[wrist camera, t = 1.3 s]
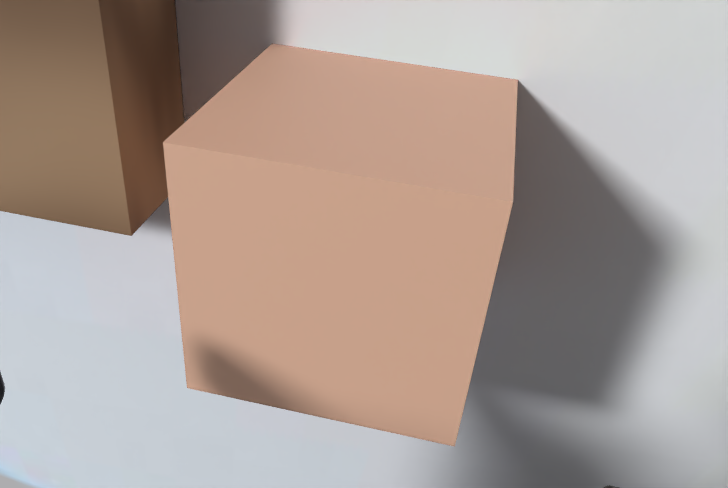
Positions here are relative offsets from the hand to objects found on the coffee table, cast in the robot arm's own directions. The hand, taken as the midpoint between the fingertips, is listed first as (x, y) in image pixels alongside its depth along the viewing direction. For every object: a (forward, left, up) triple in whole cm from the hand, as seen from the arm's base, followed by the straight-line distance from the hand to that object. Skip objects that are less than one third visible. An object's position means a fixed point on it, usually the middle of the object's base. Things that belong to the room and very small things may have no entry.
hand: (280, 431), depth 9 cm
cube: (0, 0, -8) cm, 8 cm away
